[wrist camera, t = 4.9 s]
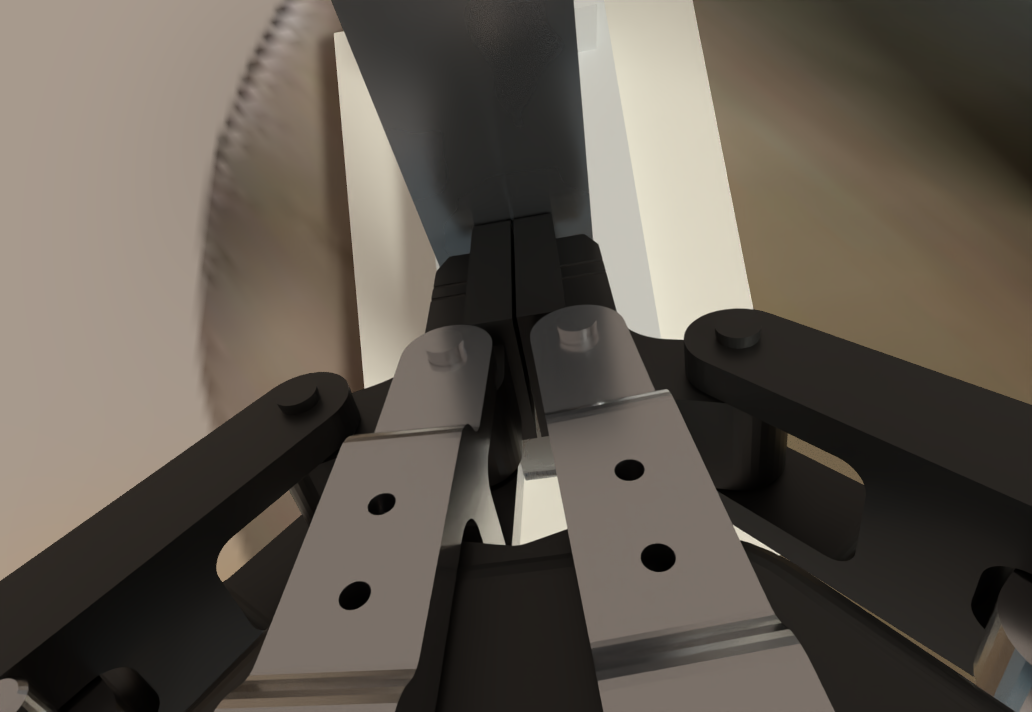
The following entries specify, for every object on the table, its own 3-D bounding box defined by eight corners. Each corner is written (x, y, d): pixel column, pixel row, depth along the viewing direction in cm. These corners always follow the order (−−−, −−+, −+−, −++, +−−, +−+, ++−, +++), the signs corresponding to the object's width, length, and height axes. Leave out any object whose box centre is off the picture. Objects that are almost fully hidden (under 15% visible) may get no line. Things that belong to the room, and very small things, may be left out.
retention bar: (553, -161, 8) (565, -113, 7) (607, 443, 24) (612, 474, 23) (313, -110, 8) (305, -59, 8) (524, 453, 24) (527, 485, 23)
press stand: (679, -4, 31) (703, -134, 24) (785, 546, 26) (850, 573, 20) (349, 59, 32) (286, -47, 26) (397, 591, 28) (336, 630, 21)
